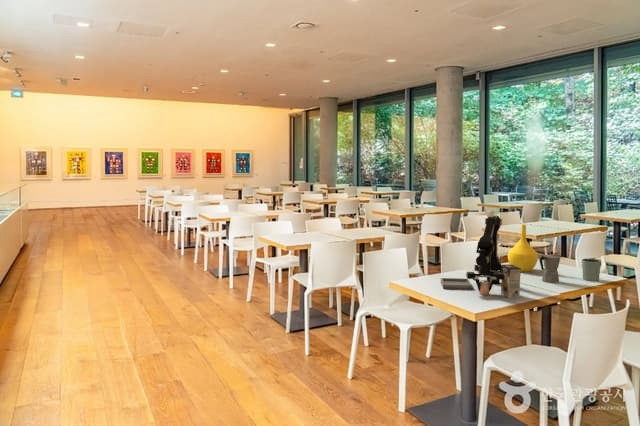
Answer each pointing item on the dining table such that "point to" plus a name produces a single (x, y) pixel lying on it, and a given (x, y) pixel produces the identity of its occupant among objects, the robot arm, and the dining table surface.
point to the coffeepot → (550, 268)
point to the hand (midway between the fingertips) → (484, 291)
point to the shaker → (484, 287)
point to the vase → (523, 254)
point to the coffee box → (510, 281)
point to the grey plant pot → (591, 269)
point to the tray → (456, 283)
